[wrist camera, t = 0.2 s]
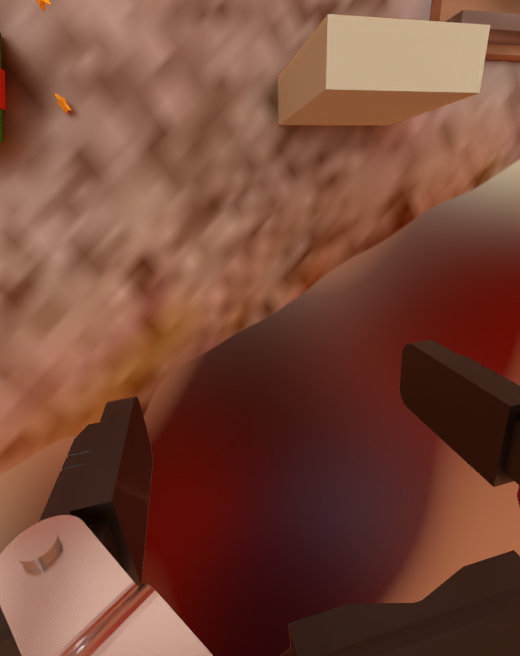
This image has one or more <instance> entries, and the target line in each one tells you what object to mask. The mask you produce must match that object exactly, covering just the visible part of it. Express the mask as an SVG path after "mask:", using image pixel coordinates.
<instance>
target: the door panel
mask: <svg viewBox="0 0 520 656" xmlns="http://www.w3.org/2000/svg"><path fill="white" fill-rule="evenodd" d="M489 31H490V25H483V24H468V23H453V22H438V21H423V20H409V19H394V18H379V17H364V16H349V15H334V14H328V15H327V16H326V17H325V18H324V20H323V21H322V22H321V23H320V25H319V26H318V27H317V28H316V29H315V31H314V32H313V33H312V34H311V36H310V37H309V38H308V39H307V41H306V42H305V43H304V44H303V46H302V47H301V48H300V49H299V51H298V52H297V53H296V54H295V56H294V57H293V58H292V59H291V61H290V62H289V63H288V64H287V66H286V67H285V68H284V69H283V71H282V72H281V73H280V74H279V76H278V125H391V124H394V123H397V122H399V121H402V120H405V119H408V118H411V117H413V116H416V115H419V114H422V113H425V112H427V111H430V110H433V109H436V108H439V107H441V106H444V105H447V104H450V103H453V102H455V101H458V100H461V99H464V98H467V97H469V96H472V95H475V94H478V93H480V87H481V81H482V74H483V68H484V62H485V56H486V49H487V43H488V37H489Z"/></svg>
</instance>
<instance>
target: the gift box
mask: <svg viewBox="0 0 520 656" xmlns="http://www.w3.org/2000/svg"><path fill="white" fill-rule="evenodd" d="M36 1H37V3H38V4H39V6H40V8H42V9H43V10H44V11H45V3H47V4H50V2H49V0H36ZM50 5H51V4H50ZM55 96H56V99H57V101H58V102H57V104H58V105H59V106H60V107H61V108H62V109H63V110H64V112H65V113H67V112H68V110H71V109H70V108H69V106H68V105H67V103H66V101H65V98H64V97H60V96H59V95H58V94H56V93H55ZM2 110H6V98H5V71H4V70H2V69H1V33H0V142H3V114H2Z"/></svg>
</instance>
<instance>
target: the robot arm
mask: <svg viewBox="0 0 520 656" xmlns="http://www.w3.org/2000/svg"><path fill="white" fill-rule="evenodd" d="M400 381H401V382H400V393H401V397H402V400H403V402H404V404H405V405H406V407H407V408H408V409H409V410H410V411H412V413H414V414H415V415H416V416H417V417H418V418H419V419H420V420H421V421H422V422H423V423H425V424H426V425H427V426H428V427H429V428H430V429H431V430H432V431H433V432H434V433H435V434H437V435H438V436H439V437H440V438H441V439H442V440H443V441H444V442H445V443H446V444H448V445H449V446H450V447H451V448H452V449H453V450H454V451H455V452H456V453H457V454H458V455H459V456H461V457H462V458H463V459H464V460H465V461H466V462H467V463H468V464H469V465H470V466H471V467H473V468H474V469H475V470H476V471H477V472H478V473H479V474H480V475H481V476H482V477H483V478H485V479H486V480H487V481H488V482H489V483H490V484H491V485H492V486H493V487H495V486H498V485H502V484H505V483H509V482H512V481H515V482H516V483H517V484H519V487H518V491H517V499H518V503H519V507H520V386H519V385H517V384H516V383H514V382H512V381H510V380H508V379H507V378H505V377H503V376H501V375H497V373H496V372H494V371H492V370H490V369H488V368H484V366H483V365H481V364H479V363H477V362H475V361H474V360H472V359H470V358H468V357H464V356H461V355H458V354H456V353H454V352H452V351H451V350H449V349H447V348H445V347H443V346H442V345H440V344H438V343H436V342H434V341H432V340H427V341H422V342H417V343H411V344H407V345H406V346H405V347H404V348H403V351H402V364H401V380H400ZM152 462H153V459H152V449H151V444H150V439H149V436H148V432H147V428H146V424H145V421H144V417H143V413H142V409H141V406H140V402H139V400H138V398H137V397H131V398H125V399H120V400H115V401H110V402H107V404H106V406H105V409H104V412H103V415H102V418H101V421H100V423H95V424H90V425H88V426H87V427H86V428H85V429H84V430H83V431H82V432H81V433H80V434H79V435H78V436H77V437H76V438H75V439H74V441H73V444H72V446H71V448H70V451H69V453H68V458H66V460H65V462H64V465H63V467H62V471H61V472H60V474H59V476H58V479H57V481H56V483H55V486H54V488H53V490H52V493H51V495H50V497H49V500H48V502H47V504H46V507H45V509H44V511H43V514H42V516H41V518H40V521H39V522H38V523H36V524H34V525H33V526H31V527H29V528H28V529H26V530H25V531H24V532H22V533H21V534H20V535H19V536H17V537H16V538H15V539H14V540H13V541H12V542H11V543H10V544H9V545H8V546H7V547H6V548H5V549H4V551H3V552H2V553H1V555H0V656H213V655H212V654H211V653H210V652H209V651H208V650H207V648H205V646H204V645H203V644H202V643H201V642H200V640H199V639H198V638H197V637H196V636H195V635H194V634H193V633H192V632H191V630H190V629H189V628H188V627H187V626H186V625H185V623H184V622H183V621H182V620H181V619H180V618H179V617H178V616H177V614H176V613H175V612H174V611H173V610H172V609H171V608H170V607H169V605H168V604H167V603H166V602H165V601H164V600H163V598H162V597H161V596H160V595H159V594H158V593H157V592H156V591H155V590H154V589H153V588H152V587H151V586H150V585H148V584H146V583H144V584H143V585H141V582H142V571H143V561H144V549H145V540H146V529H147V519H148V508H149V496H150V487H151V475H152V464H153V463H152ZM139 586H140V587H139ZM288 625H289V634H290V643H291V648H290V649H288V650H287V651H286V652H284V653H283V654H282V655H280V656H520V556H519V555H518V554H517V553H516V552H515V551H514V550H513V551H510V552H507V553H504V554H501V555H498V556H495V557H492V558H489V559H486V560H482V561H479V562H476V563H473V564H470V565H467V566H464V567H462V568H461V569H460V570H459V571H458V572H456V573H455V574H454V575H453V576H452V577H450V578H449V579H448V580H446V581H445V582H444V583H443V584H441V585H440V586H439V587H438V588H437V589H435V590H434V591H433V592H432V593H430V595H428V596H427V597H425V598H424V599H423V600H421V601H419V602H416V603H381V604H380V603H379V604H378V603H377V604H347V605H344V606H341V607H338V608H335V609H332V610H329V611H326V612H322V613H319V614H316V615H313V616H310V617H307V618H304V619H301V620H298V621H295V622H292V623H289V624H288Z"/></svg>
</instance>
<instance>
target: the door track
mask: <svg viewBox="0 0 520 656" xmlns="http://www.w3.org/2000/svg"><path fill="white" fill-rule="evenodd" d="M430 21H438V22H453V23H468V24H483V25H490V31H489V37H488V43H487V49H486V56H485V60H497V61H519V62H520V0H432V7H431V16H430Z"/></svg>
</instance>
